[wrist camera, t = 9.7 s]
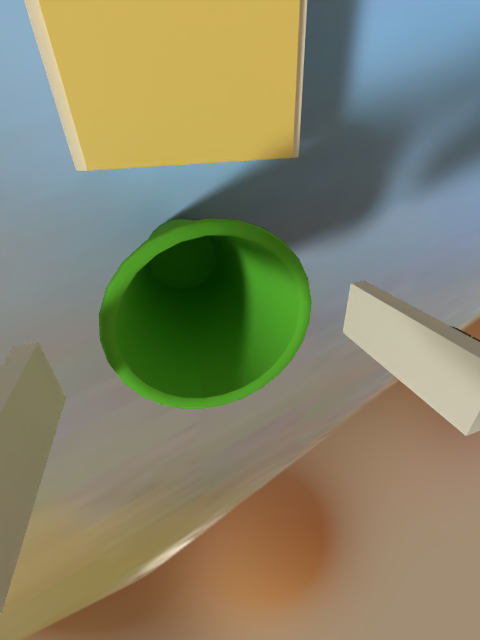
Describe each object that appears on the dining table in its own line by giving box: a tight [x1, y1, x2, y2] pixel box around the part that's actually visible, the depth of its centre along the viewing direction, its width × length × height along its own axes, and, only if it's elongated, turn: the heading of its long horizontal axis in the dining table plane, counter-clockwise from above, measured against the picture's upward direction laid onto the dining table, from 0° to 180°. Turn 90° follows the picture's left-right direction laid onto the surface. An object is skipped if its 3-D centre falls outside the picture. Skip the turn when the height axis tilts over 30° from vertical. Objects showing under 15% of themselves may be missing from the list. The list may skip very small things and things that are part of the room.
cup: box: [99, 219, 311, 409], centre depth 16 cm, size 9×9×11 cm
